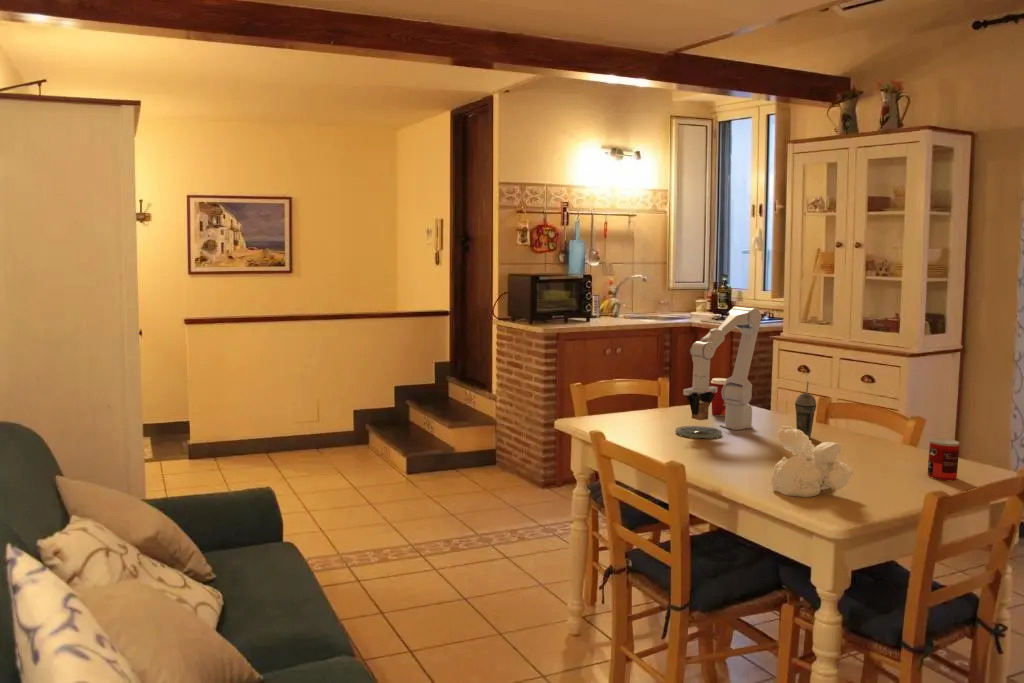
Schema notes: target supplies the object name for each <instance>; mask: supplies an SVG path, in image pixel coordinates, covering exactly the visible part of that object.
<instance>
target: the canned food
mask: <svg viewBox="0 0 1024 683" xmlns="http://www.w3.org/2000/svg"><path fill="white" fill-rule="evenodd" d="M928 448H929V449H928V462H927V476H928V477H929V476H930V477H929V478H931V477H933V478H936V479H935V480H938V479H941V480H940V481H945V480H952V481H955V480H956V479H957V478H958V468H959V466H958V465H959V454H960V442H959V441H958V440H955V439H954V440H953V439H950V438H943V437H942V438H941V437H933V438H930V439H929V447H928ZM933 478H932V479H933Z"/></svg>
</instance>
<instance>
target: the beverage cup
mask: <svg viewBox="0 0 1024 683" xmlns="http://www.w3.org/2000/svg"><path fill="white" fill-rule="evenodd" d="M809 382H810V381H806V390H805V391H806V392H805V393H800V394H799V395H798V396H797V397H796V398H795V403H794V407H795V418H796V420H795V421H796V423H795V424H796V429H798V430H801V431H803V432H804V434H805V435H807V436H808V437H809V439H811V438H812V437H811V436H812V431H813V424H814V417H815V412H816V409H817V401H816V398H815V397H814V396H813V395H812V394H811V393H809Z"/></svg>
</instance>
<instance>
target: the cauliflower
mask: <svg viewBox="0 0 1024 683" xmlns="http://www.w3.org/2000/svg"><path fill="white" fill-rule="evenodd" d="M777 434H778V439H779V442H780V443H781V445H782V447H783V448H784V450H786V451H789V452H790V453H791V455H792V456H791V457H789V458H787V457H786V456H783V457H782V458H781V460H779V461H778V462H776V463H775V465H774V468H773V471H772V476H771V486H772V490H773V491H774V492H777V493H780V495H784V496H787V497H788V496H789V497H800V498H811V497H815V496H818V495H819V494H820V493H821V491H825V490H829V489H832V490H835V491H838V490H841V489H843V488H844V487H846V486H847V484H849V483H850V479H852V475H853V472H854V471H853V469H852V468H851V466H849V465H848V464H846V463H844V462H841V461H840V460H838V456H840V454H841V452H842V444H840V443H839V442H838V443H837V442H831V441H823V442H820V443H819V444H818V445H815V444H813V443H812V440H810V438H809V437H808V436H807V435H805V434H804V432H803V431H801V430H798V429H797V428H794V427H793V426H791V425H788V424H786V425H782V426H780V428H779V430H778V432H777Z"/></svg>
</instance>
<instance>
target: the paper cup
mask: <svg viewBox="0 0 1024 683" xmlns="http://www.w3.org/2000/svg"><path fill="white" fill-rule="evenodd" d="M726 379H727V378H722V377H714V378H713V377H712V379H711V381H710V384H711V386H715V387H718V388H717V392H716V393H715V392H712V394H714V398H713V399H712V401H711V415H712V414H714V415H713V416H715V415H725V413H726V402H724V399H723V398H722V393H721V392H722V388H723V386H724V385H725V382H726Z"/></svg>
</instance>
